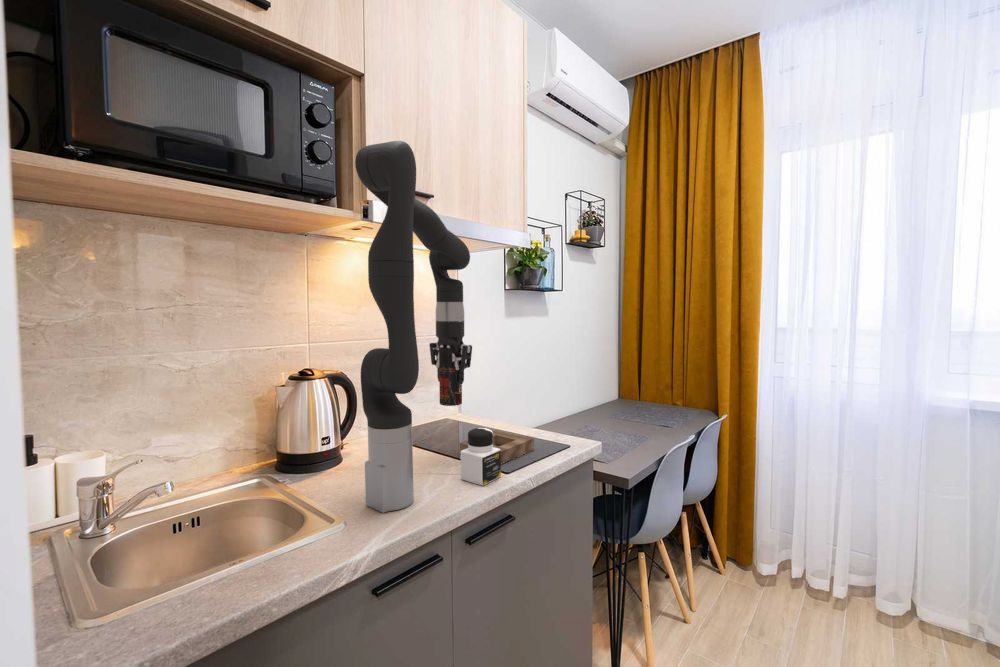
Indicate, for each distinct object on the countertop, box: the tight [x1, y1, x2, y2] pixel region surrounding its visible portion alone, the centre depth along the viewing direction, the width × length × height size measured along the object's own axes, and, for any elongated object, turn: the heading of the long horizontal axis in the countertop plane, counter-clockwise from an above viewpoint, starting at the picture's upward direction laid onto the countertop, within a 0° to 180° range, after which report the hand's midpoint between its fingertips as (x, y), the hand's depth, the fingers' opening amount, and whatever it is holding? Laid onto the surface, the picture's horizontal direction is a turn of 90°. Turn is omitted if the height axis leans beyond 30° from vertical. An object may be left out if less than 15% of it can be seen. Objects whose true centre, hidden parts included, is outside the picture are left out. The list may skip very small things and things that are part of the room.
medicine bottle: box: [460, 427, 502, 486], centre depth 114 cm, size 7×7×12 cm
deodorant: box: [438, 347, 463, 407], centre depth 125 cm, size 6×6×15 cm
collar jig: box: [459, 429, 535, 463], centre depth 133 cm, size 16×14×4 cm
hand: (450, 382), depth 125 cm, fingers closed on deodorant, 6 cm apart
